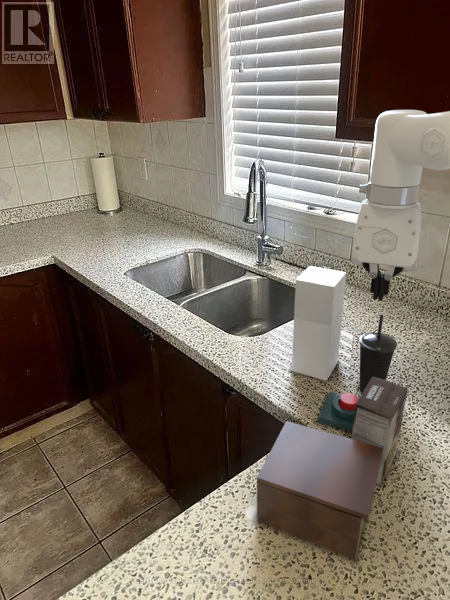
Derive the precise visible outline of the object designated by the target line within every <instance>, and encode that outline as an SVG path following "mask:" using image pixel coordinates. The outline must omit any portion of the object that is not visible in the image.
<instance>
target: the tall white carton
mask: <svg viewBox="0 0 450 600" xmlns="http://www.w3.org/2000/svg"><path fill="white" fill-rule="evenodd" d="M346 281H347V272H346V271H341V270H336V269H330V268H323V267H318V266H311V265H309V266H308V267H307V268H306V269H305V270H303V272H302V273H301V274H300V275H299V276H298V277H297V278H296V279H295V289H294V290H295V292H294V313H293V315H294V316H293V329H292V330H293V332H292V333H293V335H292V355H291V357H292V358H291V371H292V372H295V373H297V374H301V375H304V376H308V377H311V378H315V379H319V380H322V381H325V382H327V381H328V379H329V378H330V376H331V375H332V373H333V371H334V370H335V368H336V366H337V364H338V363H339V356H340V355H339V354H340V344H341V333H342V324H343V313H344V300H345V292H346V283H347V282H346Z"/></svg>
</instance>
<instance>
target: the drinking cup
mask: <svg viewBox="0 0 450 600" xmlns="http://www.w3.org/2000/svg"><path fill="white" fill-rule="evenodd" d="M383 321H384V314H379V319H378V327H377V332H374V331H373V332H366V333H363V334H362V335H361V336H360V337H359V338H358V343H359V345H360V346H359V387H358V389H359V391H360V393H361V394H362V393H363V391H364V389H365V388H366V386H367V385H368V383H369V381H370V380H371V378H372V377H377V378H380V379H383V380H386V381H387V377H388V373H389V370H390V367H391V364H392V361H393V358H394V357H393V356H394V353H395V351H396V350H397V347H398V342H397V340H396V339H395V338H394V337H393V336H390V335H388V334H385V333H383V332H382V329H383Z"/></svg>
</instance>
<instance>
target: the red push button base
mask: <svg viewBox="0 0 450 600" xmlns="http://www.w3.org/2000/svg"><path fill="white" fill-rule="evenodd" d="M342 394H343V393H336V392H333V391H329V392H328V395H327V396H326V398H325V401H324V404H323V406H322V408H321V411H320V413H319V414H318V420H317V423H318V424H323V425H325V426H330V427H333V428H336V429H339V430H343V431H347V432H351V433H352V431H353V423H354V414H355V410H346V409H343V408H342V407H341V406H340V396H341V395H342ZM356 396H357V397H358V399H359V398H360V396H358V395H356Z"/></svg>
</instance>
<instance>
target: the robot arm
mask: <svg viewBox="0 0 450 600" xmlns="http://www.w3.org/2000/svg"><path fill="white" fill-rule="evenodd" d="M373 137H374V138H373V146H372V154H371V165H370V174H369V182H368V183H364V184H360V185H359V189H358V193H359V194H363V195H365V197H366V199H364V200H362V201H361V204H360V207H359V211H358V215H357V219H356V224H355V229H354V236H353V242H352V251H351V259H350V261H351V263H352V264H355V265H358V266H360V267H363V269H364V270H365V271H366V272H367V273H368V274H369V277H370V278H371V281H370V289H369V293H371V294H372V300H374V301H377V300H378V301H381V302H383V300H384V297H385V296H389V292H390V287H391V280H392V279H393V278H394V277H396V276H398V275H400V273H403V272H404V273H407V272H416V271H417V269H418V261H417V257H418V252H419V247H420V239H421V230H422V204H421V203H420V202H419V201H418V198H419V191H420V185H421V180H422V175H423V174H422V173H423V168H425V169H428V170H432V171H446V170H447V171H448V170H450V110H447V111H442V112H435V113H427V112H425V111H424V110H418V109H391V110H385V111H382V113H380V114H379V115H378V117H377V118H376V121H375V128H374V136H373ZM380 266H386V270H385V271H384V272H383V274H382V271H381V270H380V269H381V268H380Z"/></svg>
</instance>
